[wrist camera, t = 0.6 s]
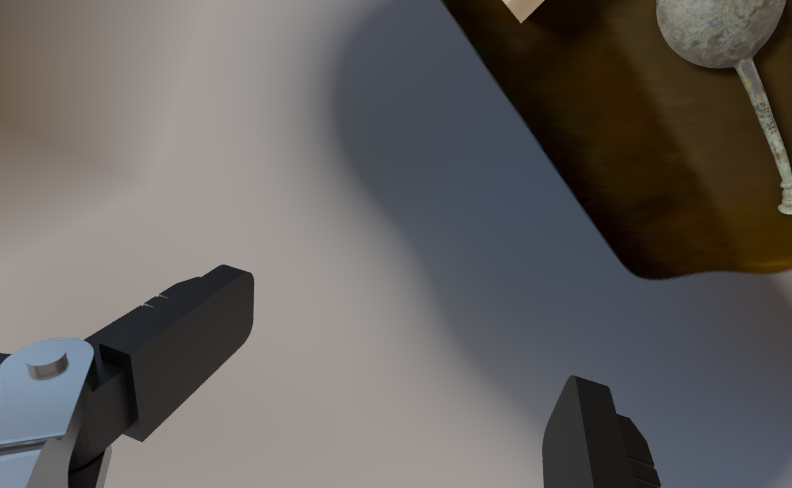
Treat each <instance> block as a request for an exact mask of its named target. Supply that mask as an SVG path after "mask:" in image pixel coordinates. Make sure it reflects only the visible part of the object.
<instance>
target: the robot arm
mask: <svg viewBox="0 0 792 488" xmlns="http://www.w3.org/2000/svg"><path fill="white" fill-rule="evenodd" d="M253 308H254V278H253V275H252V274H251V273H250V272H247V271H244V270H240V269H237V268H234V267H231V266H228V265H220V266H218V267H216V268H215V269H213V270H212V271H210V272H209V273H207V274H205V275H204V276H203V277H195V278H192V279H189V280H186V281H183V282H180V283H177V284H175V285H173V286H172V287H170V288H168V289H167V290H165V291H163V292H162V293H160V294H159V296H158V297H156V296H155V297H153V298H152V299H150V300H149V301H147V302H145V303H144V305H143V306H139V307H137V308H136V309H134V310H132V311H131V312H129V313H127V314H126V315H124V316H122V317H121V318H119V319H117V320H116V321H114V322H112V323H111V324H109V325H107V326H106V327H104V328H103V329H101V330H99V331H98V332H96V333H94V334H93V335H91V336H89V337H88V338H86V339H85V340H81V339H76V338H54V339H48V340H44V341H40V342H36V343H34V344H31V345H28V346H26V347H24V348H22V349H20V350H18V351H16V352H15V353H13V354H3V353H0V488H103V487H104V483H105V479H106V475H107V471H108V467H109V463H110V458H111V453H112V447H111V443H113V442H114V441H115V440H116V439H117V438H118V437H119V436H120V435H122V434H124V435H127V436H129V437H132V438H134V439H136V440H138V441H141V442H143V441H144V440H145V439H146V438H147V437H148V436H149V435H150V434H151V433H152V432H153V431H154V430H155V429H156V428H157V427H158V426H160V425H161V423H162V422H164V421H165V420H166V419H167V418H168V417H169V416H170V415H171V414H172V413H173V412H174V411H175V410H176V409H177V408H178V407H179V406H180V405H181V404H182V403H183V402H184V401H185V400H186V399H187V398H188V397H189V396H190V395H191V394H192V393H194V392H195V391H196V390H197V389H198V388H199V387H200V385H202V384H203V383H204V382H205V381H206V380H207V379H208V378H209V377H210V376H211V375H212V374H213V373H214V372H215V371H216V370H217V369H218V368H219V367H220V366H221V365H222V364H223V363H224V362H226V360H228V359H229V358H230V357H231V356H232V355H233V354H234V353H235V352H236V351H237V350H238V349H239V348H240V347H241V346H242V345H243V344H244V343H245V341H246V340H247V338H248V336H249V334H250V332H251V329H252V325H253ZM542 456H543V478H544V488H660V486H661V484H660V481H659V477H658V474H657V471H656V470H655V469H654V463H653V460H652V456H651V453H650V450H649V447H648V444H647V441H646V440H645V438H644V437H643V436H642V434H641V433H640V432H639V430H638V429H637V427H636V426H635V425H634V424H633V422H632V421H631V419H630V418H627V417H624V416H621V415H618V414H616V410H615V407H614V403H613V399H612V395H611V392H610V389H609V388H608V386H605V385H602V384H599V383H596V382H593V381H589V380H586V379H583V378H580V377H577V376H574V375H571V376H570V377H569V378H568V380H567V382H566V384H565V386H564V388H563V390H562V393H561V395H560V397H559V399H558V401H557V403H556V406H555V408H554V410H553V412H552V414H551V416H550V419H549V421H548V424H547V426H546V429H545V433H544V438H543V446H542Z"/></svg>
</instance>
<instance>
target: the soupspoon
mask: <svg viewBox="0 0 792 488" xmlns="http://www.w3.org/2000/svg"><path fill="white" fill-rule="evenodd" d="M785 3H786V0H657V1H656V14H657V20H658V25H659V28H660V31H661V33H662V35H663V37H664V39H665V41H666V42H667V43H668V45H669V46H670V48H671V49H673V51H675V52H676V53H677V54H678V55H679V56H681V57H682V58H683V59H685V60H687V61H689V62H691V63H694V64H696V65H699V66H704V67H709V68H730V67H734V68H735V69H736V71H737V72H738V74H739V76H740V78H741V80H742V82H743V85H744V87H745V89H746V91H747V93H748V96H749V98H750V100H751V102H752V105H753V107H754V109H755V112H756V114H757V117H758V119H759V121H760V124H761V127H762V129H763V131H764V134H765V136H766V138H767V140H768V143H769V145H770V148H771V150H772V153H773V156H774V158H775V161H776V164H777V167H778V170H779V172H780V175H781V177H782V180H783V181H782V182H781V184H780V186H781V187H782V188H784V190H783V192H782V195H783V199H782V204H781V205H780V206H779V207H778V210H780V211H781V212H782V213H784V214H792V171H791V167H790V164H789V160H788V157H787V154H786V150H785V147H784V144H783V142H782V139H781V136H780V133H779V130H778V128H777V125H776V122H775V119H774V117H773V114H772V111H771V108H770V105H769V102H768V99H767V96H766V93H765V90H764V87H763V85H762V82H761V80H760V77H759V74H758V72H757V69H756V67H755V64H754V62H753V56H754V55H755V54H756V53H757V52H758V51H759V50H760V48H761V47H762V46H763V45H764V44H765V43H766V42H767V40H768V39H769V38H770V36H771V35H772V33H773V32H774V30H775V28H776V27H777V24H778V22H779V20H780V17H781V15H782V13H783V9H784V7H785Z"/></svg>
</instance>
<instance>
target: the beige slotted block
mask: <svg viewBox="0 0 792 488" xmlns="http://www.w3.org/2000/svg"><path fill="white" fill-rule="evenodd" d="M543 1H544V0H503V2H504V3H505V4H506V5H507V7H508V8H509V9H510V10H511V11H512V13H513V14H514V15H515V16H516V18H517V19H518V20H519V21H520V23H522V22H523V21H524V20H525V19H526V18H527V17H528V16H529V15H530V14H531V13H532V12H533V11H534V10H535V9H536V8H537V7H538V6H539V5H540V4H541V3H542V2H543Z"/></svg>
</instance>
